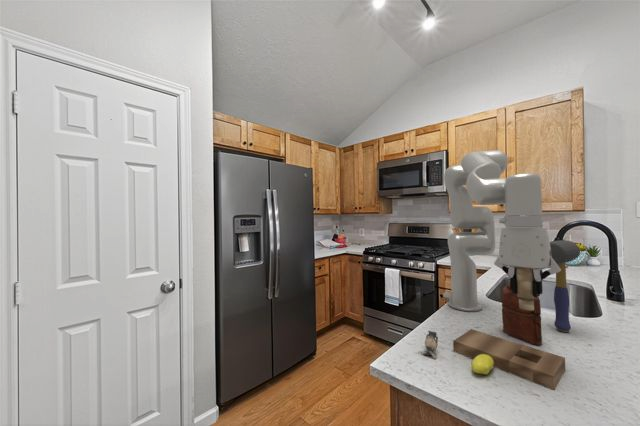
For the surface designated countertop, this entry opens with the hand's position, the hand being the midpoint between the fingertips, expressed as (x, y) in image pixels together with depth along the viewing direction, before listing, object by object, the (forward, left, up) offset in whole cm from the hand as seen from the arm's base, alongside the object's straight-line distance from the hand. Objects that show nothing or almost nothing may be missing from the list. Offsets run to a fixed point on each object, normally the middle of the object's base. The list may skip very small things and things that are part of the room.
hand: (526, 293), depth 67 cm
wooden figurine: (-6, +19, -19) cm, 28 cm away
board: (-5, 0, -19) cm, 20 cm away
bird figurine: (-20, -11, -19) cm, 30 cm away
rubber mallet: (+1, +34, -19) cm, 39 cm away
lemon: (-7, -10, -19) cm, 23 cm away
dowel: (0, 0, -4) cm, 4 cm away
